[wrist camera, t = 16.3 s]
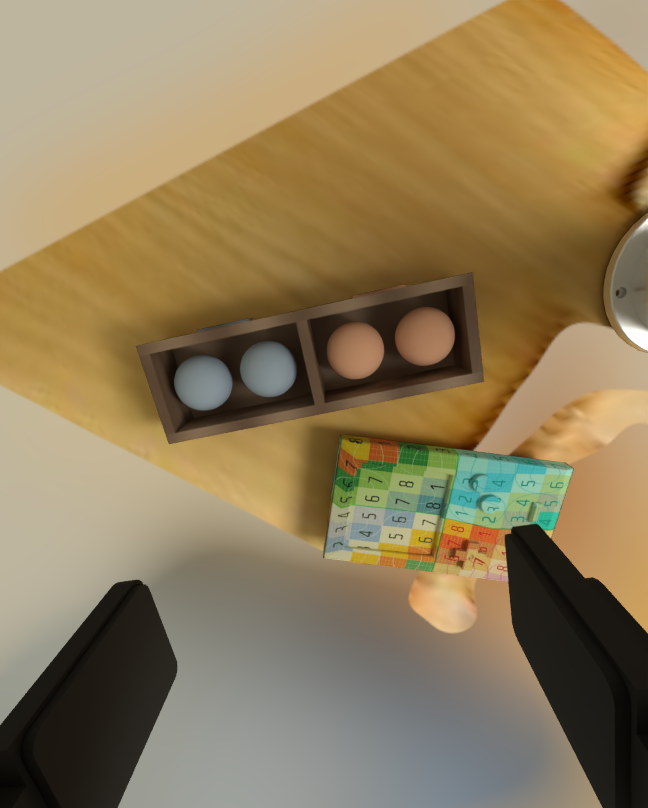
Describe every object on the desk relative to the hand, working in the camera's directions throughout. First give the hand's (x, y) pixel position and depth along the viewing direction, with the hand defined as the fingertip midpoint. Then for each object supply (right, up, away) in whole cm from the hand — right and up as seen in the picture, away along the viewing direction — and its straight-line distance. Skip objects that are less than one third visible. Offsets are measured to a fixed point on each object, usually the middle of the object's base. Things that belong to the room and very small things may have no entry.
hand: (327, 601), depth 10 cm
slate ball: (-4, +8, +24) cm, 25 cm away
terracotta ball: (+3, +10, +23) cm, 25 cm away
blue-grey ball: (-10, +7, +24) cm, 27 cm away
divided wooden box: (-1, +9, +24) cm, 26 cm away
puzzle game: (+11, -4, +28) cm, 30 cm away
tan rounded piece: (+8, +11, +23) cm, 26 cm away
